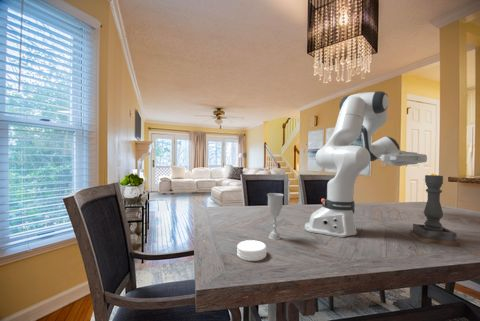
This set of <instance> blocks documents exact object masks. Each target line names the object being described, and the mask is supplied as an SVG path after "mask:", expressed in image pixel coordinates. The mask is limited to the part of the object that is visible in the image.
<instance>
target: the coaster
mask: <svg viewBox="0 0 480 321" xmlns="http://www.w3.org/2000/svg"><path fill="white" fill-rule="evenodd" d="M236 248H237V249H236V252H237V257H238V258H239V259H241V260H244V261H249V262H257V261H258V262H259V261H262V260H264V259H265V258H266V257H267V245H266V244H265V243H264V242H263V241H260V240H253V239H248V240H242V241H240V242H239V243H238V244H237V245H236Z"/></svg>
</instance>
